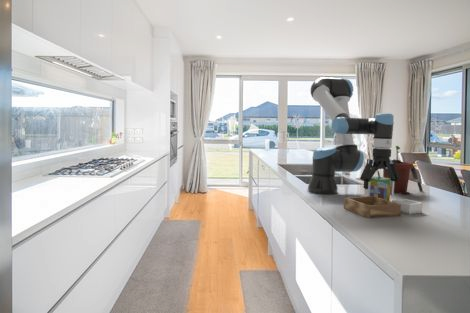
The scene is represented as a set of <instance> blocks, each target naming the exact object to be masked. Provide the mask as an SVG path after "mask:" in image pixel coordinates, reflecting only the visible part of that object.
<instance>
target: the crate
mask: <svg viewBox="0 0 470 313" xmlns="http://www.w3.org/2000/svg"><path fill="white" fill-rule="evenodd" d="M343 199H344V200H343V209H346V210H347V211H350V212H353V213H355V214H357V215H360V216H362V217H365V218H367V219H369V218H373V219H374V218H387V217H388V218H389V217H400V216H401V212H400V211H401V204H398V203H395V202H392V200H390V201H388V200H385V199H381V198H378V197H375V196H368V197H367V196H352V197H351V196H350V197H349V196H348V197H343Z"/></svg>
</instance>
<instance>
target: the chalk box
mask: <svg viewBox="0 0 470 313" xmlns="http://www.w3.org/2000/svg"><path fill="white" fill-rule="evenodd" d="M379 170H380V169H378V170H377V171H376V173H377V176H372V178H371V179H370V181H369V182H371V184H370V196H375V197H378V198H381V199H385V200H388V201H391V195H390V187H391V178H384V177H383V176H381V174H380V171H379ZM366 197H368V196H366Z"/></svg>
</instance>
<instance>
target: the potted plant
mask: <svg viewBox="0 0 470 313" xmlns="http://www.w3.org/2000/svg"><path fill="white" fill-rule="evenodd" d="M395 148H396V159H395V160H396V167H397V171H398V174H399V178H400V179H399V180H398V181H395V188H394V194H400V195H403V196H407V195H410V192H409V191H408V187H409V179H410V172H411V176H412V179H413V180H414V181H415V182H416V183H417V187H418V190H419V192H423V190H424V189H423V186H422V183H421V182H420V176H419V172H418V169H417V167H415V165H414V163H412V162H409V161H401V160H400V159H399V158H398V155H399V154H398V153H400V152H399V151H398V150H401V147H400V146H399V145H395ZM389 166H390V163H389ZM390 169H391V168H390ZM382 170H383V172H382V173H383V174H382V177H384V178H389V176H388V175H387V173H386V171H385V170H384V169H382Z"/></svg>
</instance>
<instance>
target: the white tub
mask: <svg viewBox="0 0 470 313" xmlns="http://www.w3.org/2000/svg"><path fill="white" fill-rule="evenodd" d="M391 202H395V203H398V204H401V211H400V213H403V214H405V215H413V214H422V213H423V202H421V201H420V202H419V201H416V200H412V199H407V198H401V199H400V198H399V199H393V200H391Z"/></svg>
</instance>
